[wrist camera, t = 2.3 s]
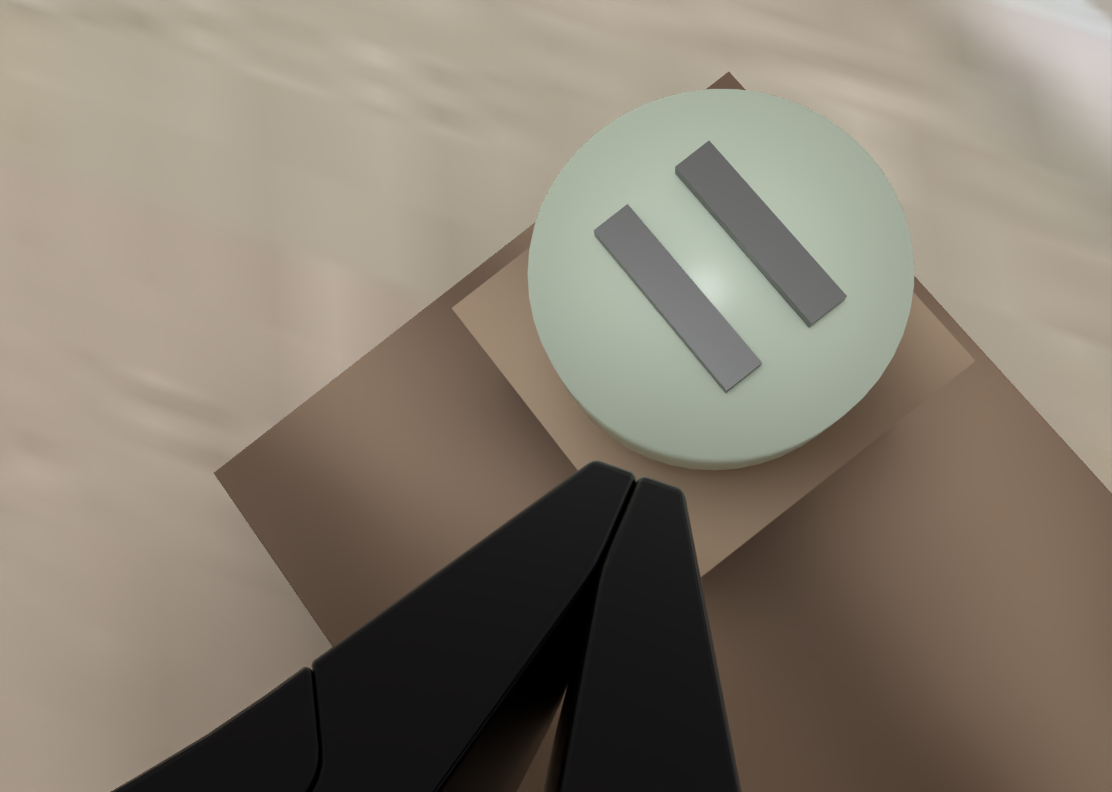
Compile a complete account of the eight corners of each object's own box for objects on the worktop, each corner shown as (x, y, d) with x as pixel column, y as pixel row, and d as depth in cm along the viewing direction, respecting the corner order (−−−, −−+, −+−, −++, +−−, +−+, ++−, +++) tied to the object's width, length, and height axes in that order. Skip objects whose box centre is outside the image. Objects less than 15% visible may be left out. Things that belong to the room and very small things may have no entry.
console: (966, 1523, 18) (1159, 2140, 11) (243, 478, 22) (56, 444, 15) (1564, 1039, 18) (2130, 1341, 11) (724, 103, 22) (751, -96, 16)
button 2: (684, 540, 12) (687, 537, 11) (479, 280, 13) (450, 238, 11) (956, 326, 12) (1004, 288, 11) (734, 81, 13) (744, 9, 12)
